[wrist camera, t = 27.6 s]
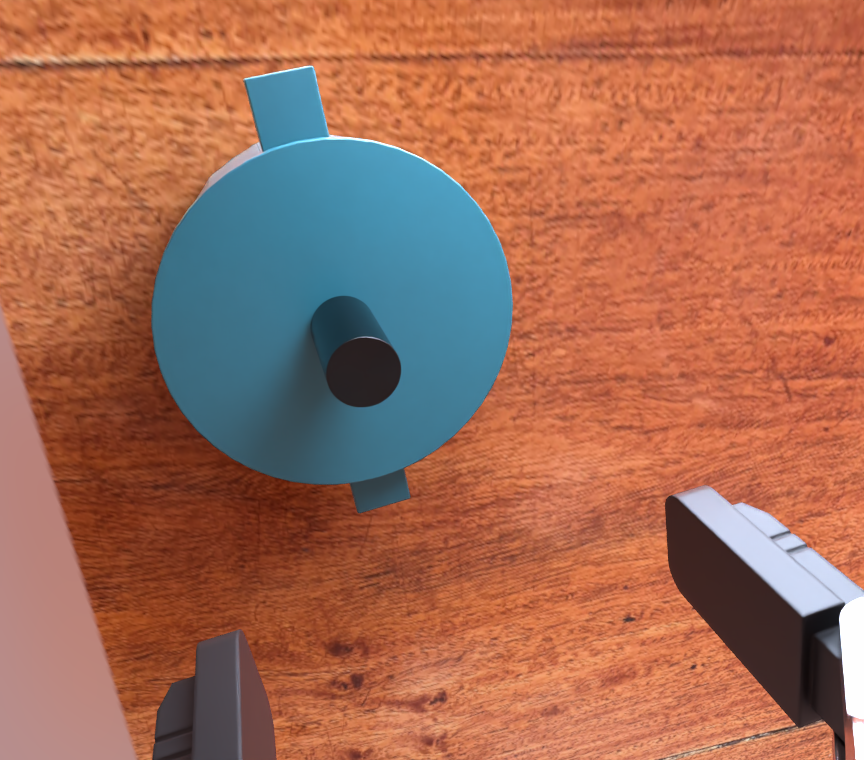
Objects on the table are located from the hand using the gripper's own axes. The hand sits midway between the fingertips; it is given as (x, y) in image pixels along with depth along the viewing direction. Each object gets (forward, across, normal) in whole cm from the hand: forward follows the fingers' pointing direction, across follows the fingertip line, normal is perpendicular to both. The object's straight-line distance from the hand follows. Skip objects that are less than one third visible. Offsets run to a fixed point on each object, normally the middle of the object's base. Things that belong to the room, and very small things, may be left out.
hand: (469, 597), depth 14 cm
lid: (+17, 0, 0) cm, 17 cm away
